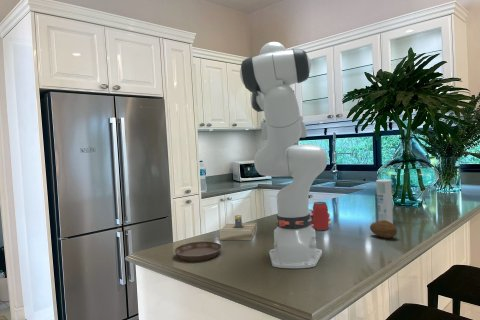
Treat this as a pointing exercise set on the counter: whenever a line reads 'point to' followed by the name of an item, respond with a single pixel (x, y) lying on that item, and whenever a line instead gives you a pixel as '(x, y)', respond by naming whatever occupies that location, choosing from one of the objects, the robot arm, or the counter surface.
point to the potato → (384, 229)
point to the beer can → (320, 216)
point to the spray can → (384, 200)
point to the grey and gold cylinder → (238, 221)
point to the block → (238, 232)
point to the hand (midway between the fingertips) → (284, 149)
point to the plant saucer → (198, 251)
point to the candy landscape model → (312, 217)
